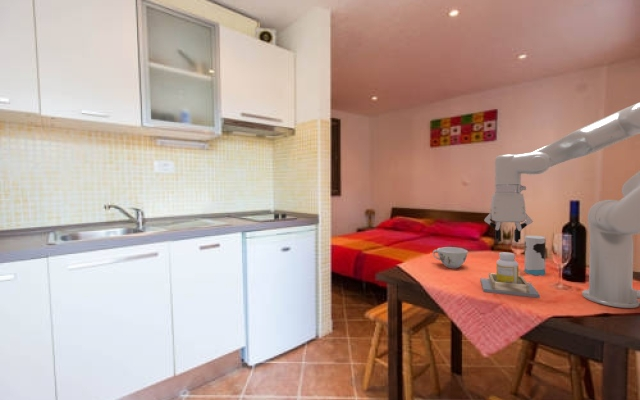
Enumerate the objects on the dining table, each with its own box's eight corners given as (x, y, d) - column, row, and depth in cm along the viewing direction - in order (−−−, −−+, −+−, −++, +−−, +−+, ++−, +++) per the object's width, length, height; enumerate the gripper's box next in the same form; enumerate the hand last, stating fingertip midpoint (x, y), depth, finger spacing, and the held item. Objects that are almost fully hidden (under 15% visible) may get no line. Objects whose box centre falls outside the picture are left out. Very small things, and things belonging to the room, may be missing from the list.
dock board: (530, 285, 104) (530, 282, 104) (539, 297, 93) (539, 294, 93) (480, 280, 111) (480, 278, 111) (483, 291, 100) (483, 289, 100)
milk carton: (549, 275, 114) (549, 238, 113) (532, 275, 114) (533, 238, 113) (536, 270, 121) (536, 235, 120) (520, 270, 121) (520, 235, 120)
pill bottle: (511, 282, 105) (511, 251, 104) (522, 288, 98) (522, 255, 98) (493, 282, 105) (492, 251, 105) (503, 289, 99) (502, 256, 98)
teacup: (471, 265, 130) (471, 248, 129) (462, 272, 121) (462, 254, 120) (438, 260, 140) (438, 244, 140) (427, 266, 131) (427, 249, 131)
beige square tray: (522, 282, 104) (522, 275, 104) (529, 293, 95) (529, 285, 95) (488, 279, 109) (488, 273, 109) (492, 289, 99) (492, 282, 99)
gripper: (534, 188, 100) (534, 240, 101) (479, 190, 107) (479, 238, 108) (540, 189, 93) (540, 244, 94) (481, 190, 100) (481, 242, 101)
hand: (507, 240), depth 101 cm, fingers open, 4 cm apart
